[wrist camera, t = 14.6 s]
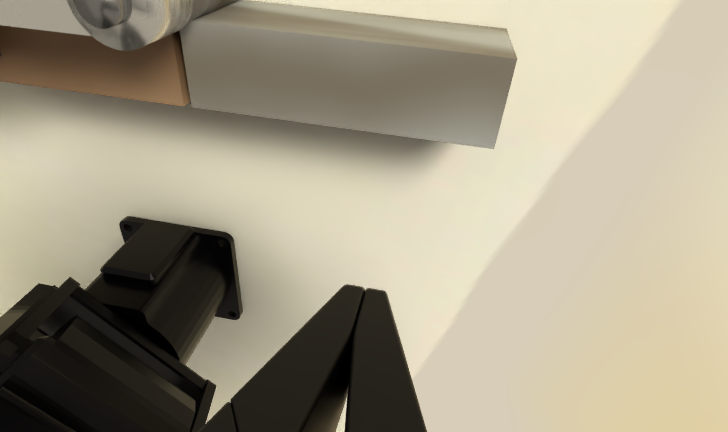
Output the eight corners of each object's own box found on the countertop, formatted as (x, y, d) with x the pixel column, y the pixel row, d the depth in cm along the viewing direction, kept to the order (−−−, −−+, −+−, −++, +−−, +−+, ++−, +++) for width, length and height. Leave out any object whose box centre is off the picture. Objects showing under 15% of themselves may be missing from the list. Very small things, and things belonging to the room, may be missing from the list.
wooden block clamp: (488, 106, 19) (499, 186, 13) (3, 44, 21) (-152, 91, 16) (522, -39, 16) (553, -10, 10) (-48, -93, 18) (-261, -91, 13)
